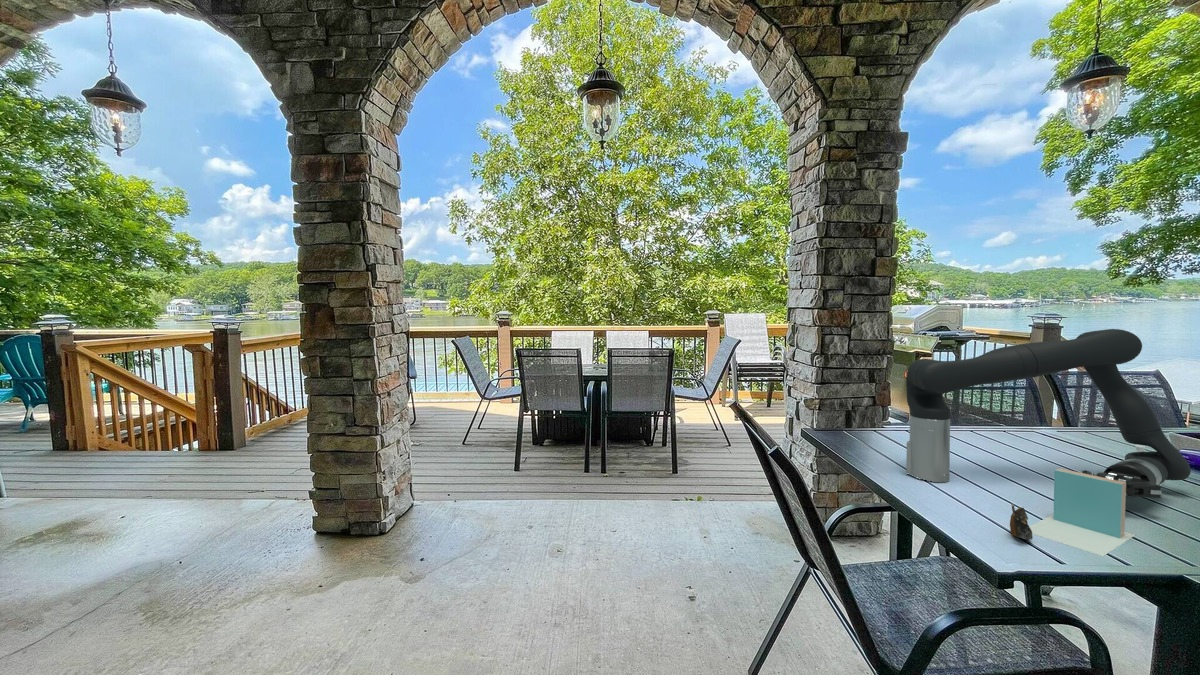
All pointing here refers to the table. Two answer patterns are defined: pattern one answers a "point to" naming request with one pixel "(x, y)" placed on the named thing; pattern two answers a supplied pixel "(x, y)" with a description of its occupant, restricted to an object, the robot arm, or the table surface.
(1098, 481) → the tile
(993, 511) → the table surface
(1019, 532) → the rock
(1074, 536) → the mat
